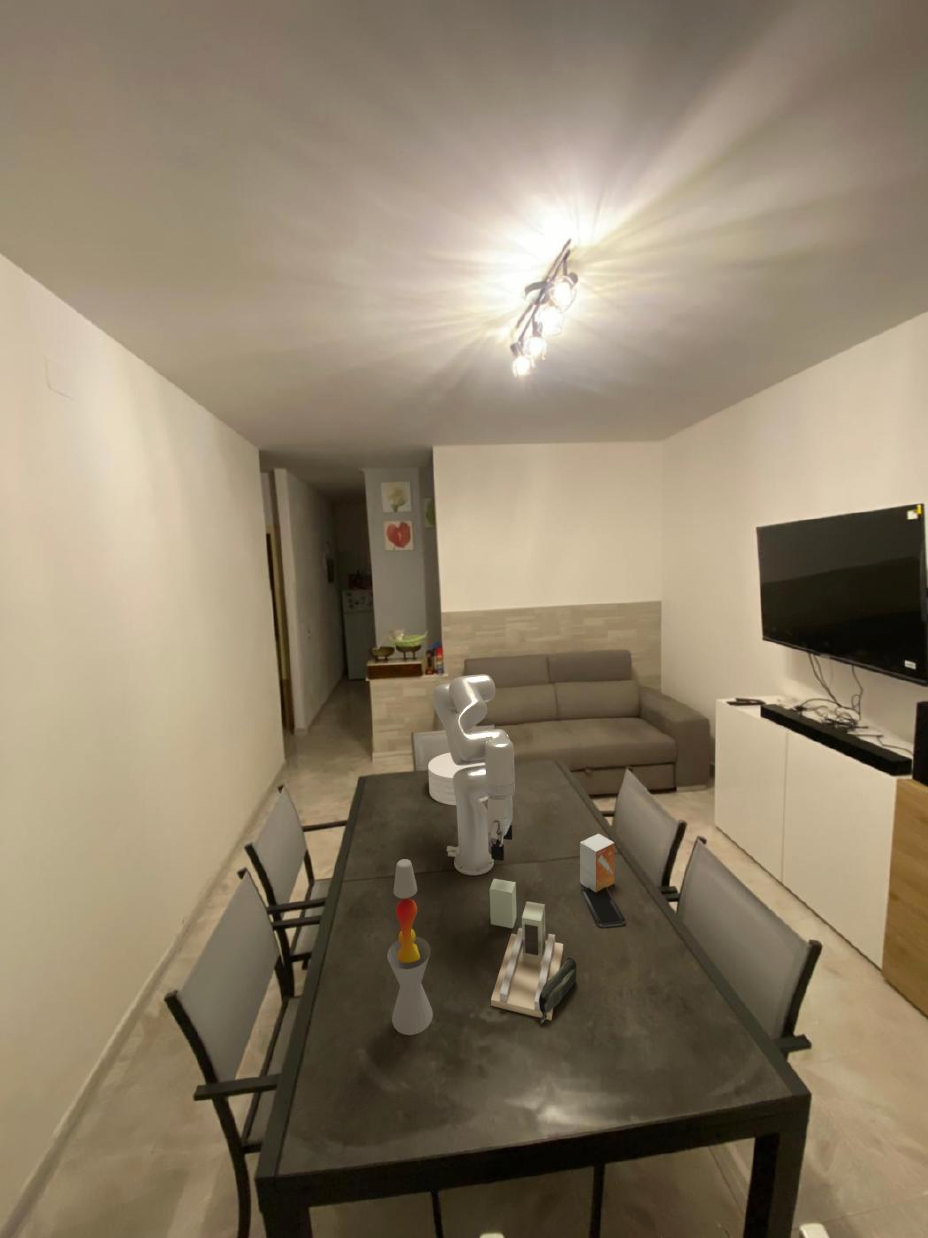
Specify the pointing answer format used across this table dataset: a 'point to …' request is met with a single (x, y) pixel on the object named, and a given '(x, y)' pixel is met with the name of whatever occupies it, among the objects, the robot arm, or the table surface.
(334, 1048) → the table surface
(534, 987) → the rail board
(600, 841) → the small box
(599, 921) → the phone
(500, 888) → the pale green tall block
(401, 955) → the lava lamp
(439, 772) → the plate stack
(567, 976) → the mobile phone
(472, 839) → the robot arm
